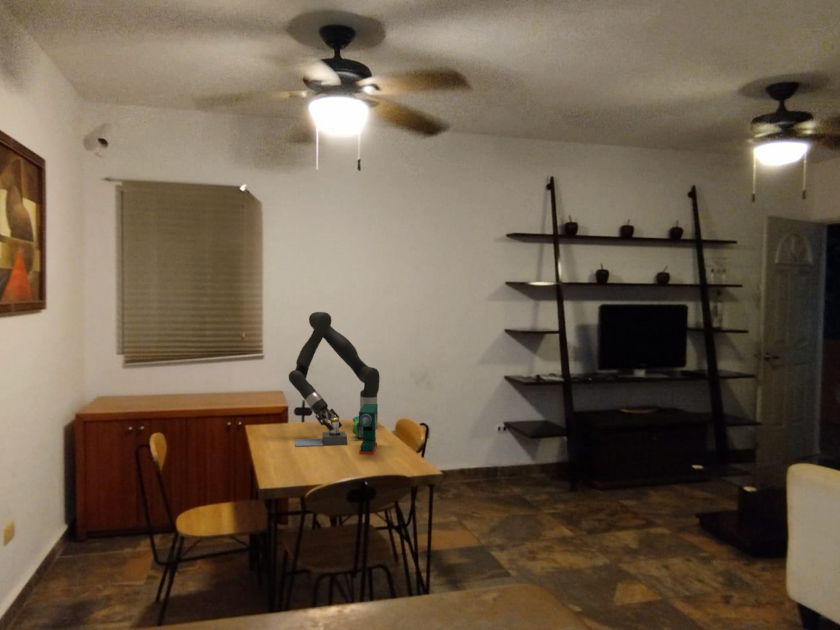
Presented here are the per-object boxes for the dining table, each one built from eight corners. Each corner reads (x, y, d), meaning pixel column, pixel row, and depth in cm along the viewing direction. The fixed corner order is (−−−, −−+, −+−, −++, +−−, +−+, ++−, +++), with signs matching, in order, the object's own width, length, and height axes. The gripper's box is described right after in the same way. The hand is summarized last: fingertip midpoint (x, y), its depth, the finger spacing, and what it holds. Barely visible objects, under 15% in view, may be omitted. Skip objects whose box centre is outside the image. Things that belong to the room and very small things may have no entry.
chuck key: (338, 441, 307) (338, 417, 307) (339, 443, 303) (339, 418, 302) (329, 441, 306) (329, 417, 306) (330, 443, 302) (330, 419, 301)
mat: (321, 439, 309) (321, 438, 309) (323, 446, 297) (323, 444, 297) (294, 440, 306) (294, 439, 306) (295, 446, 294) (295, 445, 294)
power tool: (371, 462, 270) (372, 416, 269) (355, 462, 270) (356, 416, 269) (377, 444, 302) (378, 403, 301) (363, 444, 302) (364, 403, 301)
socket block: (344, 439, 311) (344, 431, 311) (347, 444, 300) (347, 436, 300) (322, 440, 309) (322, 432, 308) (324, 445, 298) (324, 437, 298)
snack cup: (360, 442, 306) (361, 421, 306) (344, 438, 312) (345, 418, 312) (380, 436, 319) (381, 416, 319) (365, 433, 325) (365, 414, 325)
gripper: (313, 400, 300) (333, 426, 296) (328, 396, 313) (348, 420, 309) (304, 410, 302) (324, 436, 298) (319, 405, 315) (338, 430, 312)
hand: (336, 428), depth 304 cm, fingers open, 8 cm apart
